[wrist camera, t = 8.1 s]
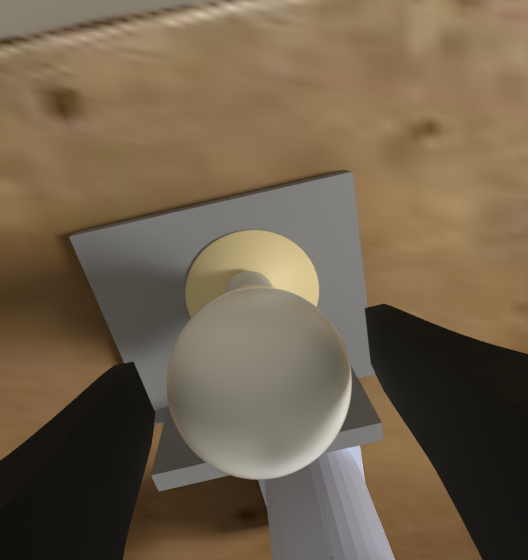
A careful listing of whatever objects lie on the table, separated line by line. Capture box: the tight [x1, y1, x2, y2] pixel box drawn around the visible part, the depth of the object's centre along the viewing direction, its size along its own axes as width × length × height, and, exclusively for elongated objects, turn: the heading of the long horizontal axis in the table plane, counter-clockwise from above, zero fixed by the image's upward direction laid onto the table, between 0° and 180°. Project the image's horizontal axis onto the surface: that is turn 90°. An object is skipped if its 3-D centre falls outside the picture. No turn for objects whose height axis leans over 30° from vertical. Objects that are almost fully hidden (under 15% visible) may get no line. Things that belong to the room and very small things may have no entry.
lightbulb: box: [166, 271, 352, 480], centre depth 14 cm, size 6×6×11 cm
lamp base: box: [69, 170, 383, 491], centre depth 19 cm, size 13×15×6 cm
